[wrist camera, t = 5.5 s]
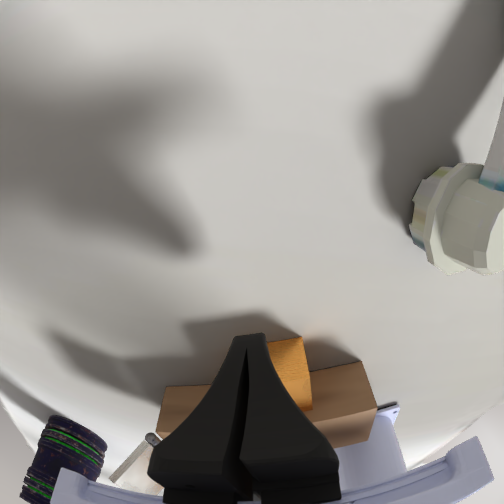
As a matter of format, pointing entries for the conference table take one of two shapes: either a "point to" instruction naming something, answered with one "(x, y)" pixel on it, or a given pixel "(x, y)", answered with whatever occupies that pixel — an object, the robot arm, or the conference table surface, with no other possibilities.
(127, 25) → the conference table surface
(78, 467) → the storage jar
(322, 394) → the block
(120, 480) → the plate
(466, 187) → the white handled tool
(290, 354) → the orange block
